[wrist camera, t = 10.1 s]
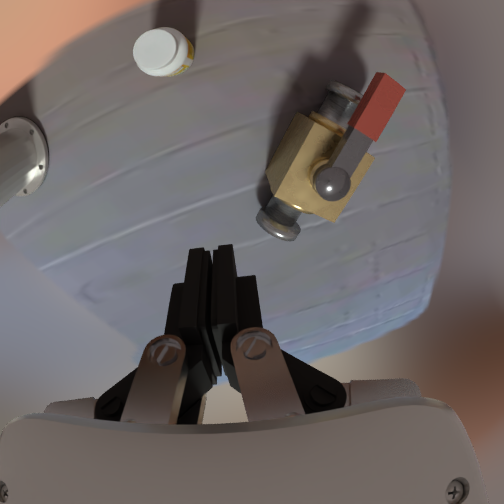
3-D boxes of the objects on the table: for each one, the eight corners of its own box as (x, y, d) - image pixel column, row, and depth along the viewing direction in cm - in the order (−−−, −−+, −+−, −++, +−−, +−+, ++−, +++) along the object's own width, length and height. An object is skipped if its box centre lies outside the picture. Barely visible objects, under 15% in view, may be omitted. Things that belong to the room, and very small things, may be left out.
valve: (297, 225, 42) (312, 262, 35) (247, 206, 40) (252, 241, 33) (367, 106, 32) (402, 119, 25) (316, 75, 30) (343, 77, 23)
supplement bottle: (181, 82, 29) (165, 85, 22) (143, 66, 28) (115, 66, 20) (203, 45, 27) (195, 34, 19) (164, 29, 25) (143, 15, 17)
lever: (334, 200, 30) (339, 207, 29) (306, 186, 29) (310, 193, 28) (399, 89, 23) (408, 92, 22) (373, 70, 22) (381, 70, 21)
